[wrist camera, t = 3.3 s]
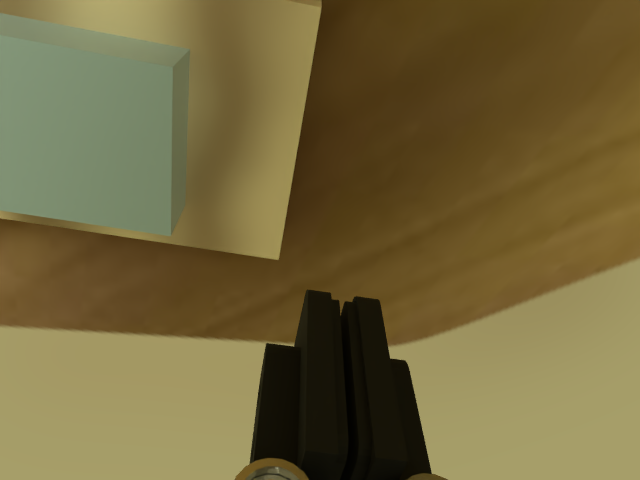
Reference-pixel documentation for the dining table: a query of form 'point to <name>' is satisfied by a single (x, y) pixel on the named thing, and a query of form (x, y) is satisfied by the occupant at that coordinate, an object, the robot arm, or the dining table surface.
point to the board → (217, 108)
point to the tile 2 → (92, 126)
